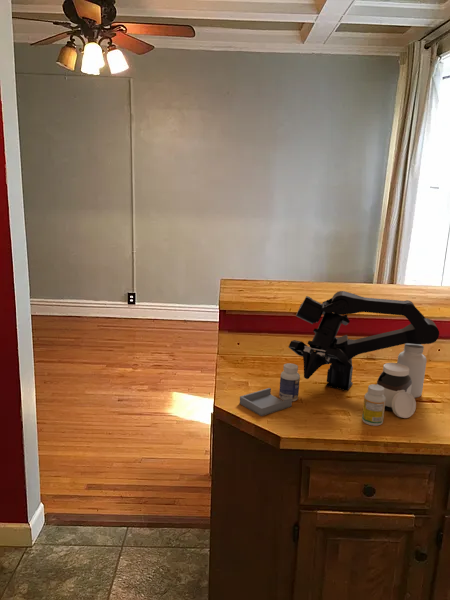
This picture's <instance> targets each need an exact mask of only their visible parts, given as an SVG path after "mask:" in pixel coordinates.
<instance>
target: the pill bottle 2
mask: <svg viewBox="0 0 450 600" xmlns="http://www.w3.org/2000/svg"><path fill="white" fill-rule="evenodd" d="M424 350H425V346H424V344H404V347H403V350H402V351H401V352H400V353H399V354H398V355H397V362H396V363H399V364H403V365H405V366H407V367H408V368H409V374H408V375H409V376H410V377H411V380H412V387H411V395H412V396H413V397H414V399H416V398H419V397H421V396H422V395H423V390H424V389H423V388H424V381H425V374H426V367H427V357H426V355H424V354H423V353H424Z"/></svg>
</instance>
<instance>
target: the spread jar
mask: <svg viewBox="0 0 450 600" xmlns="http://www.w3.org/2000/svg"><path fill="white" fill-rule="evenodd" d="M408 374H409V368H408V367H407V366H405V365H403V364H399V363H397V362H386V363H384V364H383V368H382V372H381V373H380V375H379V376H378V378H377V381H376V385H380V386H382V387H384V394H383V395H384V396H385V398H386V402H385V410H386V411H389V412H393V413H394V414H395V416H397V417H398V418H404V419H408V418H410V417H412V416H413V415H414V414H415V412H416V408H417V402H416V398H414V397H413V396H412V395H411V387H412V380H411V377H410V376H409V375H408ZM385 410H384V411H385Z"/></svg>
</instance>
